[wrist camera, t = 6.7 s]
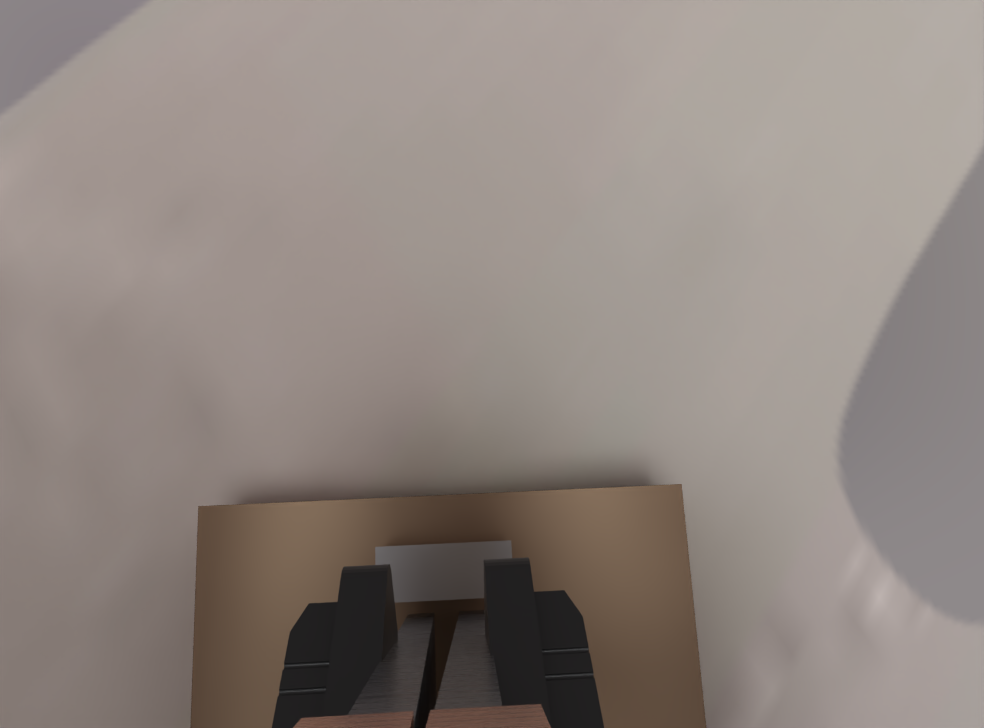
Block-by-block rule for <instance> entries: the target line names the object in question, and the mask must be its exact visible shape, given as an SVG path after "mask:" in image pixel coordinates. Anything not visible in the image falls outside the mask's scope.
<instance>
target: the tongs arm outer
mask: <svg viewBox="0 0 984 728" xmlns="http://www.w3.org/2000/svg"><path fill="white" fill-rule="evenodd" d="M426 728H551V727H550V724H549V722H548V720H547V717H546V715H545V713H544V710H543V708H542V706H541V704H529V705H511V706H502V701H501V696H500V690H499V684H498V679H497V673H496V667H495V662H494V656H490V652H489V648H488V644H487V640H486V636H485V610H473V611H460V613H459V616H458V620H457V624H456V628H455V632H454V636H453V640H452V643H451V647H450V651H449V655H448V659H447V663H446V667H445V670H444V674H443V678H442V682H441V686H440V690H439V694H438V698H437V701H436V705H435V709H434V710H430V713H429V717H428V721H427V724H426Z"/></svg>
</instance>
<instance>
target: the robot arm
mask: <svg viewBox="0 0 984 728" xmlns="http://www.w3.org/2000/svg"><path fill="white" fill-rule="evenodd" d="M484 609H485V636H486V640H487V644H488V648H489V652H490V656H494V662H495V667H496V673H497V679H498V684H499V690H500V696H501V701H502V706H511V705H529V704H541V706H542V708H543V710H544V713H545V715H546V717H547V720H548V722H549V724H550V727H551V728H604V723H603V718H602V713H601V708H600V703H599V698H598V692H597V687H596V682H595V678H594V674H593V667H592V661H591V656H590V653H589V646H588V641H587V635H586V630H585V625H584V620H583V616H582V614H581V613H580V611H579V610H578V609H577V607H576V606H575V604H574V603H573V602H572V600H571V599H570V597H569V596H568V595H567V593H566V592H565V590H557V591H538V592H534V588H533V581H532V573H531V566H530V560H529V557H526V558H506V559H486V560H484ZM397 640H398V629H397V619H396V610H395V601H394V592H393V582H392V573H391V567H390V564H384V565H364V566H345V567H343V569H342V572H341V578H340V586H339V593H338V601H337V602H325V603H309V604H308V605H307V607H306V608H305V610H304V611H303V613H302V614H301V616H300V617H299V619H298V620H297V622H296V623H295V625H294V626H293V628H292V629H291V631H290V634H289V639H288V644H287V649H286V655H285V660H284V670H282V676H281V681H280V686H279V696H278V697H277V702H276V707H275V713H274V718H273V723H272V728H293V727H294V726H295V725H296V724H297V723H298V721H299V720H300V719H301V718H309V717H325V716H341V715H348V713H349V712H350V710H351V708H352V707H353V705H354V703H355V702H356V700H357V699H358V697H359V695H360V694H361V692H362V690H363V689H364V687H365V685H366V684H367V682H368V680H369V679H370V677H371V675H372V674H373V672H374V670H375V669H376V667H377V665H378V664H379V662H382V661H383V659H384V658H385V656H386V655H387V654H388V652H389V651H390V650H391V648H392V647H393V646H394V644H395V643H396V642H397Z"/></svg>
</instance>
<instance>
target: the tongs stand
mask: <svg viewBox="0 0 984 728" xmlns="http://www.w3.org/2000/svg"><path fill="white" fill-rule="evenodd" d="M526 557H529V560H530V566H531V573H532V581H533V588H534V592H538V591H557V590H565V592H566V593H567V595H568V596H569V597H570V599H571V600H572V602H573V603H574V604H575V606H576V607H577V609H578V610H579V611H580V613H581V614H582V616H583V620H584V625H585V630H586V635H587V641H588V646H589V653H590V656H591V661H592V667H593V674H594V678H595V682H596V687H597V692H598V698H599V703H600V708H601V713H602V718H603V723H604V728H706V721H705V711H704V701H703V691H702V682H701V672H700V662H699V652H698V642H697V632H696V623H695V613H694V603H693V593H692V583H691V573H690V564H689V554H688V544H687V534H686V524H685V514H684V505H683V495H682V485H681V484H675V485H653V486H631V487H609V488H587V489H566V490H544V491H522V492H500V493H478V494H457V495H435V496H413V497H391V498H369V499H348V500H326V501H304V502H282V503H260V504H239V505H217V506H198V533H197V561H196V589H195V617H194V645H193V674H192V702H191V728H272V723H273V718H274V713H275V707H276V702H277V697H278V696H279V686H280V681H281V676H282V670H284V660H285V655H286V649H287V644H288V639H289V634H290V631H291V629H292V628H293V626H294V625H295V623H296V622H297V620H298V619H299V617H300V616H301V614H302V613H303V611H304V610H305V608H306V607H307V605H308V604H309V603H325V602H337V601H338V593H339V586H340V578H341V572H342V569H343V567H345V566H364V565H384V564H390V567H391V573H392V582H393V592H394V601H395V610H396V619H397V629H398V631H399V629H400V627H401V626H402V624H403V622H404V621H405V619H406V617H407V616H408V614H417V613H434V621H435V654H436V687H437V698H438V694H439V690H440V686H441V682H442V678H443V674H444V670H445V667H446V663H447V659H448V655H449V651H450V647H451V643H452V640H453V636H454V632H455V628H456V624H457V620H458V616H459V613H460V611H473V610H485V609H484V560H486V559H506V558H526Z"/></svg>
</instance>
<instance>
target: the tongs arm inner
mask: <svg viewBox="0 0 984 728" xmlns="http://www.w3.org/2000/svg"><path fill="white" fill-rule="evenodd" d="M436 701H437V687H436V654H435V621H434V613H417V614H408V616H407V617H406V619H405V621H404V622H403V624H402V626H401V627H400V629H399V631H398V640H397V642H396V643H395V644H394V646H393V647H392V648H391V650H390V651H389V652H388V654H387V655H386V656H385V658H384V659H383V661H382V662H379V664H378V665H377V667H376V669H375V670H374V672H373V674H372V675H371V677H370V679H369V680H368V682H367V684H366V685H365V687H364V689H363V690H362V692H361V694H360V695H359V697H358V699H357V700H356V702H355V703H354V705H353V707H352V708H351V710H350V712H349V713H348V715H341V716H325V717H309V718H301V719H300V720H299V721H298V723H297V724H296V725H295V726H294V727H293V728H426V724H427V721H428V717H429V713H430V710H434V709H435V705H436Z"/></svg>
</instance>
